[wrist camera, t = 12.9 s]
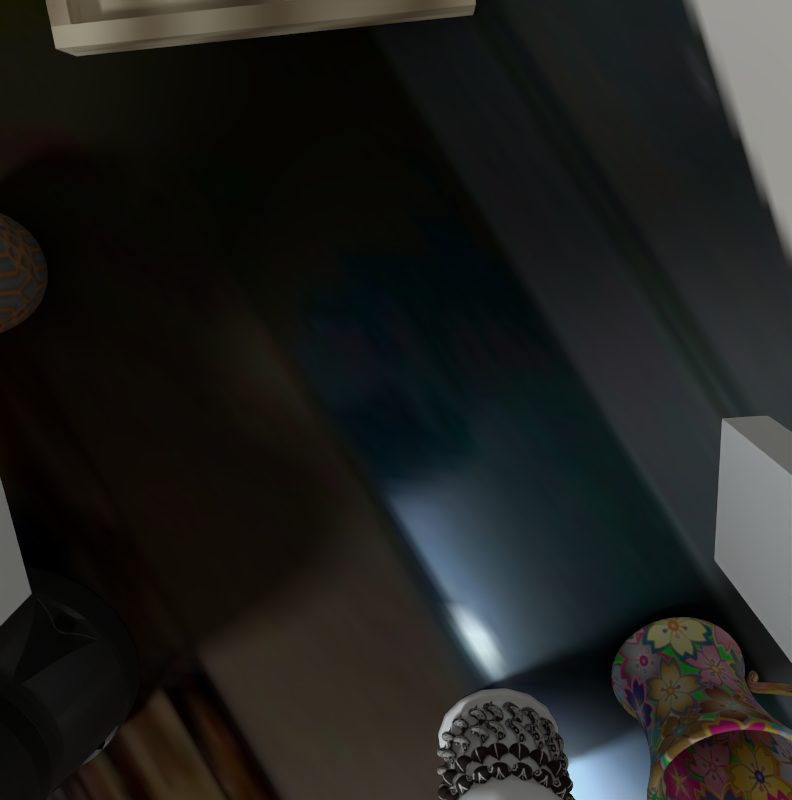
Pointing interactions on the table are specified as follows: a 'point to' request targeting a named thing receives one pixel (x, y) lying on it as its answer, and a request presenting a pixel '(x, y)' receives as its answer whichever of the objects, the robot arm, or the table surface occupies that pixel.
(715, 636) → the mug
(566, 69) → the table surface
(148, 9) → the organizer
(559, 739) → the decorative candle
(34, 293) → the vase
